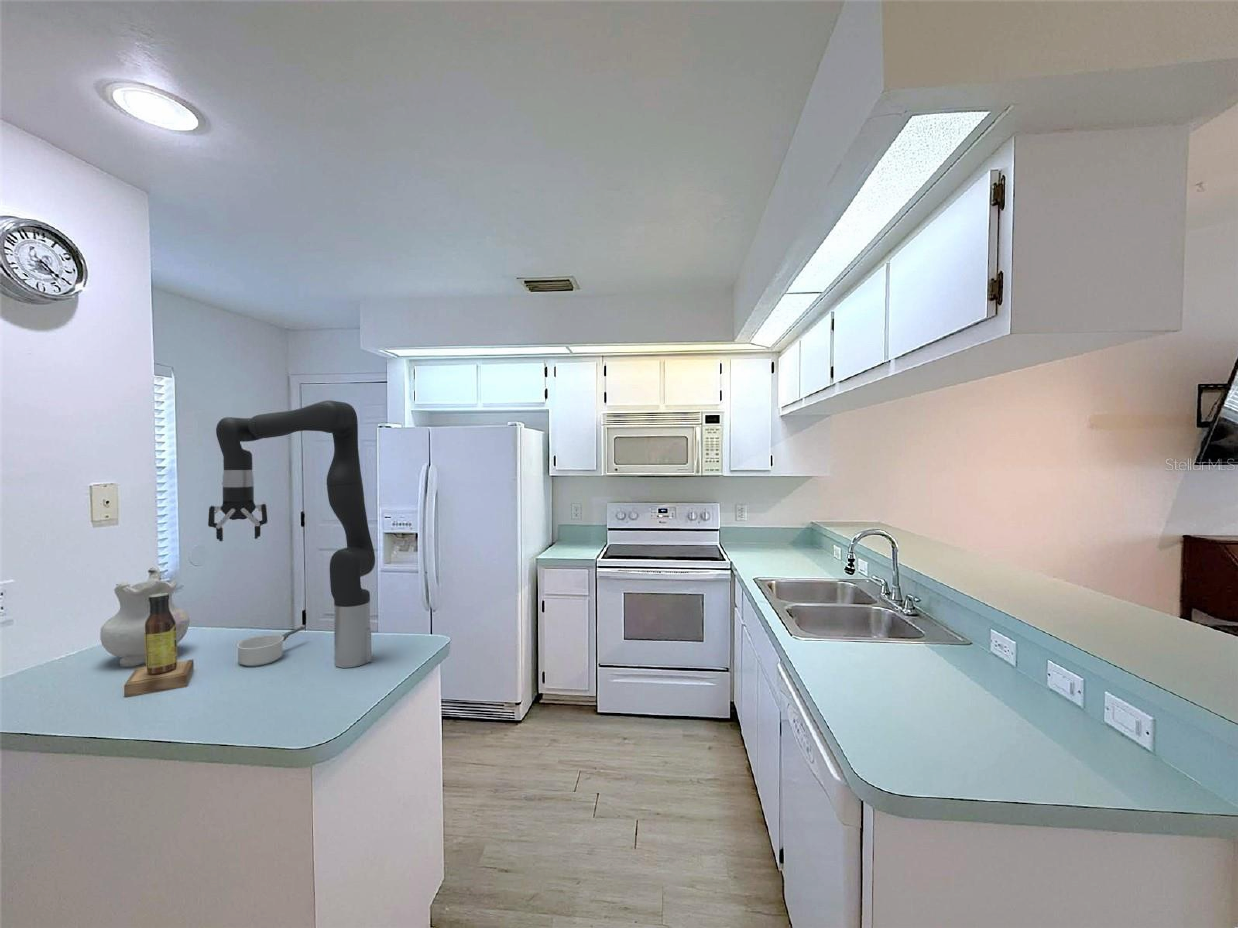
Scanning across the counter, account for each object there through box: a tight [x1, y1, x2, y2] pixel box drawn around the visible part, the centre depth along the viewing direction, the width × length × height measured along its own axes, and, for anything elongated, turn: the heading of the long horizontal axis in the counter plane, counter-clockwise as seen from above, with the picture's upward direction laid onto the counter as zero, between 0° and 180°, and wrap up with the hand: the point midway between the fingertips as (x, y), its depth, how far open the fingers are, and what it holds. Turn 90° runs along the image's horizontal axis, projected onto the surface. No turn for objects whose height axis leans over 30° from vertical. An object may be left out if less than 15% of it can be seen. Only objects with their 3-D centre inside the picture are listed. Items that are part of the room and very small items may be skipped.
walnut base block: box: [123, 658, 194, 698], centre depth 140 cm, size 12×12×3 cm
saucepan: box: [236, 626, 306, 667], centre depth 159 cm, size 12×20×6 cm, turn 161°
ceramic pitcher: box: [99, 567, 190, 668], centre depth 157 cm, size 22×20×25 cm
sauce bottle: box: [145, 593, 178, 674], centre depth 140 cm, size 6×6×20 cm
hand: (238, 539), depth 159 cm, fingers open, 8 cm apart
